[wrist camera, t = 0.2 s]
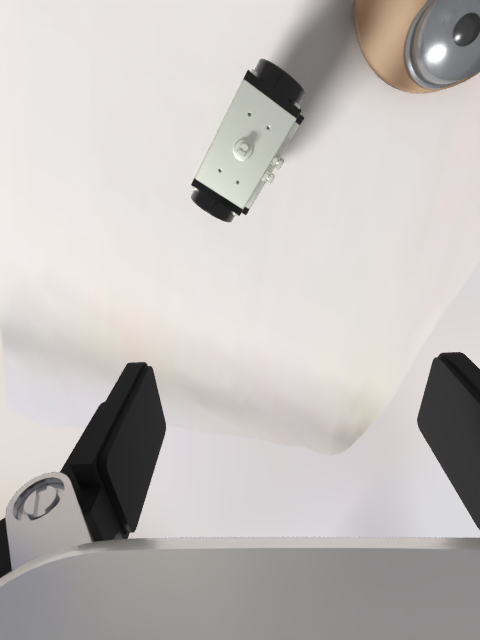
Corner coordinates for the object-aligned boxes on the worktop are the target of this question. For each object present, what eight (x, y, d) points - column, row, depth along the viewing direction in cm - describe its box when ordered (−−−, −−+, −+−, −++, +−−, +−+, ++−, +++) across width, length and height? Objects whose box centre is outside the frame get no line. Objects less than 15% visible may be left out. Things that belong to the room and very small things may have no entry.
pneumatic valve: (201, 185, 36) (180, 202, 26) (256, 76, 32) (259, 42, 21) (242, 212, 38) (238, 238, 27) (302, 111, 33) (326, 95, 22)
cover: (407, -2, 27) (427, -21, 24) (493, -19, 26) (526, -41, 23) (399, 95, 30) (416, 89, 27) (476, 82, 29) (503, 75, 26)
